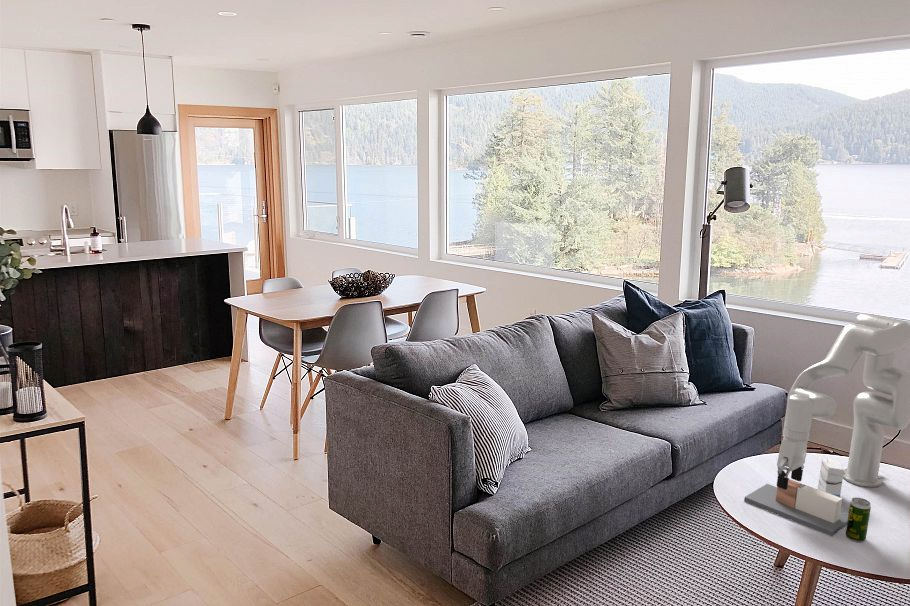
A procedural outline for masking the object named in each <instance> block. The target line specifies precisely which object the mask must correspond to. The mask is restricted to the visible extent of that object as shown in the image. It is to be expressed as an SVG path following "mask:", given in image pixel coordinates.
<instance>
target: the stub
mask: <svg viewBox="0 0 910 606" xmlns="http://www.w3.org/2000/svg"><path fill="white" fill-rule="evenodd" d="M802 485H803V483H801V482H799V481H797V480H794V479H790V478H789V480H788V487H787V489H786V490H785V489H782V488H779V487H777V486H776V487H777V494H776V501H778V502H780V503H783V504H785V505H788V506H790V507H793V508H795V504H796V496H797V489H798V487H800V486H802Z"/></svg>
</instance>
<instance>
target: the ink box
mask: <svg viewBox="0 0 910 606" xmlns="http://www.w3.org/2000/svg"><path fill="white" fill-rule="evenodd" d="M844 470H845V469H844V468H843V467H842V465H841V463H840V462H839V460H838V459H833V458H827V457H822V458H821V464H820V469H819V476H818V477H819V478H818V484H817V489H818V490H821V491H823V492H826V493H829V494H832V495H834V496H837V497H840V498H841V494H842V485H843V480H844V478H843V473H844Z"/></svg>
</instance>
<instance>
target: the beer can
mask: <svg viewBox="0 0 910 606" xmlns="http://www.w3.org/2000/svg"><path fill="white" fill-rule="evenodd" d="M871 508H872V507H871V502H870V500H867V499H866V498H863V497H862V498H861V497H852V498H851V500H850V502H849V508H848V509H849V510H848V513H847V514H848V521H847V525H846V528H845V537H846V538H847V540H849V541H851V542H854V543H861V544H862V543H864V542H865V541H866V540H867V536H868V535H867V533H868V528H869V521H870V516H871Z"/></svg>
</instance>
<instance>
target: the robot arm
mask: <svg viewBox="0 0 910 606" xmlns="http://www.w3.org/2000/svg"><path fill="white" fill-rule="evenodd" d="M909 342H910V324H909V323H908V322H906V321H904V320H901V319H896V318H891V317H886V316H883V315H880V314H879V315H877V314H874V313H867V312H866V313H859V314H858V315H857V316H856V318H855V319H854V323H848V324H846V325H845V326H844V327H843V328H842V329H841V330H840V332H839V334H838V335H837V337H836V339H835V340H834V342H833V344H832V346H831V348H830V349H829V351H828V353H827V354H826V356H825V358H824V359H822V361H819V362H817V363H815V364H812V365H811V366H809V367H808V368H806V369H805V370H804V371H802V372H801V373H800V374H798V376H797V378H796V379H795V381H794V383H793V384H792V386H791V387H790V389H789V391H788V394H787V401H786V402H787V403H786V408H785V409H786V410H785V417H784V422H783V423H784V424H783V430H782V432H783V433H782V437H783V438H782V440H781V444H780V447H779V451H778V456H777V461H776V466H777V470H776V472H777V480H776V487H779V488H782V489H785V490H786V489H787V487H788V480H789V479H790V478H791V480H793V481H796V482H801V481H802V479H803V478H802V477H803V473H804V470H803V469H804V468H805V467H804V466H805V465H804V464H805V463H806V457H807V447H808V442H809V440H810V434H811V426H812V421H813V419H821V420H822V419H827V418H829V417H831V416H833V415H834V414H835V412H836V409H837V403H836V401H835V399H834V398H833V397H831V396H829V395H828V394H824V393H821V392H819V391H816V390H813V389H810V388H811V387H812V385H813V384H815V383H816V382H819V381H821V380H823V379H829V378H835V377H843V376H847V375H849V374H851V373H852V372H853V369H854V368H855V366H856V364H857V362H858V361H859V360H860V358H861V356H862V355H863V354H865V359H864V365H863V373H862V383H863V385H864V386H865V387H866V388H868V389H869V390H872V391H862V392H859V393H858V394H857V395H856V396H855V397H854V400H853V402H852V403H853V404H852V407H853V409H852V411H853V427H852V428H853V429H852V434H851V441H850V449H849V454H848V455H849V456H848V462H847V468H845V469H843V470H844V473H843V480H845V481H847V482H848V483H851V484H853V485H856V486H861V487H865V488H866V487H867V488H877V487H881V486H882V484H883V478H882V477H880V475H879V472H880V466H881V458H882V452H883V446H884V440H885V431H884V427H887V428H891V429H894V430H901V431H902V430H904V429H905V428H907V427H908V425H909V424H910V371H909V370H907V369H904V368H901V367H897V366H896V365H895V359H896V358H895V357H896V351H897V350H900V349H901V348H903V347H905V346H906V345H907V344H908V343H909ZM873 391H876V392H873ZM877 392H878V393H877ZM879 393H882V394H885V395H882V394H879ZM886 395H888V396H891V397H892V398H891V397H888V396H886ZM883 426H884V427H883ZM785 471H786V472H785ZM790 473H791V475H790ZM789 475H790V478H789Z"/></svg>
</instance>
